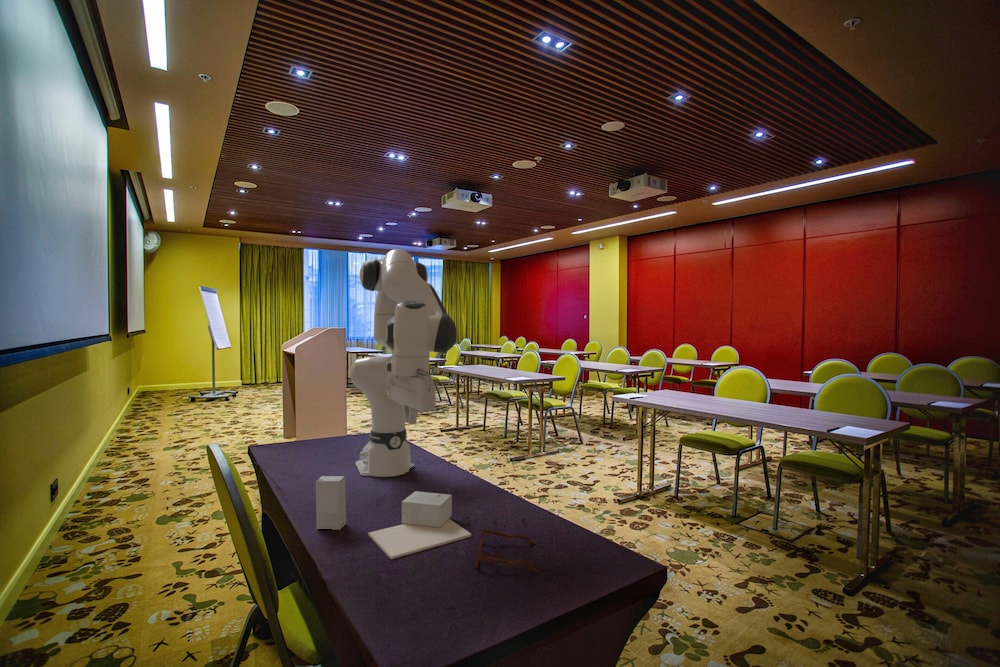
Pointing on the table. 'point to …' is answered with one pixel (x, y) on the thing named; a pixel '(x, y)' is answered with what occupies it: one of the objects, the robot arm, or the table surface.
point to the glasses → (501, 559)
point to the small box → (427, 509)
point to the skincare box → (330, 502)
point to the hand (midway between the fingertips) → (410, 423)
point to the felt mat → (416, 537)
